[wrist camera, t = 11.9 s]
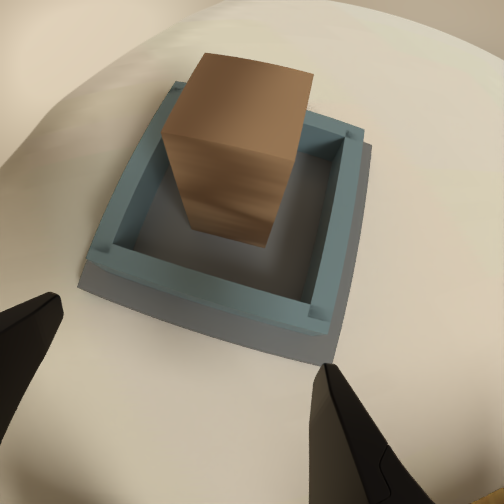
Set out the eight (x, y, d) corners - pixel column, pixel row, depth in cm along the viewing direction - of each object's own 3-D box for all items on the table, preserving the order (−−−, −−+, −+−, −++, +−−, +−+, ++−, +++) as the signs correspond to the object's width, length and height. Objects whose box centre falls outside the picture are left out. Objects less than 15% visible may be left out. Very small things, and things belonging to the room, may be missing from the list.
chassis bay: (367, 152, 22) (387, 121, 19) (325, 367, 18) (348, 373, 14) (172, 100, 23) (165, 64, 19) (83, 290, 18) (53, 277, 14)
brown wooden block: (281, 183, 20) (313, 74, 11) (264, 248, 19) (294, 161, 10) (213, 167, 20) (204, 52, 11) (191, 229, 19) (160, 132, 10)
